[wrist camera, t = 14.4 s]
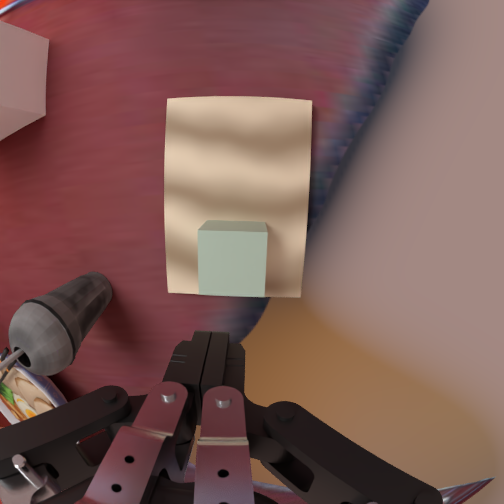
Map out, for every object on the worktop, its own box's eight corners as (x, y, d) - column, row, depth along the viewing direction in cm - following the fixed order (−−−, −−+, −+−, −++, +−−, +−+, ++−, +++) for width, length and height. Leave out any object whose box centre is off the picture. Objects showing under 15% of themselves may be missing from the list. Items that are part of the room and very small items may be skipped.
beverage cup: (120, 322, 33) (38, 438, 14) (73, 305, 32) (-21, 397, 13) (124, 269, 31) (13, 373, 12) (74, 254, 30) (-46, 329, 11)
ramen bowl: (64, 439, 42) (50, 464, 34) (-10, 362, 37) (-31, 382, 29) (121, 411, 37) (104, 447, 30) (21, 305, 33) (-11, 329, 25)
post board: (171, 102, 26) (154, 88, 21) (309, 104, 26) (321, 89, 21) (171, 287, 31) (157, 308, 26) (298, 291, 31) (307, 315, 26)
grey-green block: (207, 220, 28) (197, 230, 23) (265, 221, 28) (267, 232, 23) (207, 274, 29) (198, 294, 25) (262, 276, 29) (264, 297, 25)
